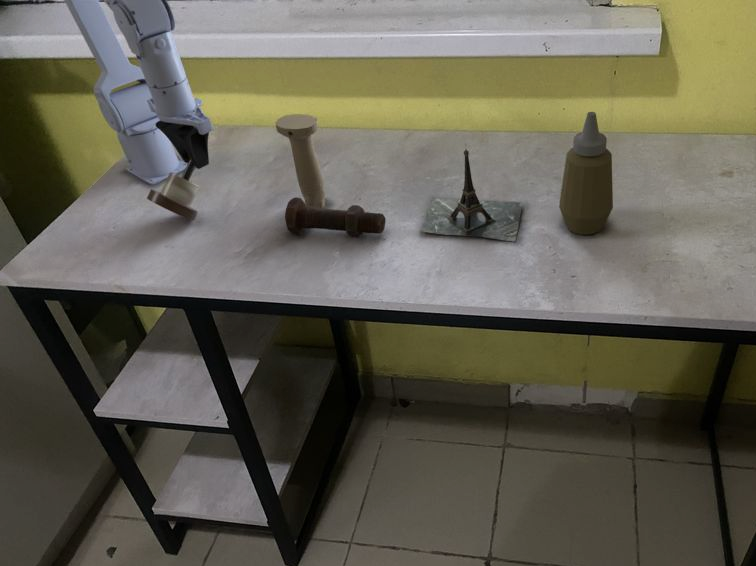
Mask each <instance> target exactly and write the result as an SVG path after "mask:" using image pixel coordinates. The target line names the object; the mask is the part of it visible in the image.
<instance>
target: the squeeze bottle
mask: <svg viewBox="0 0 756 566" xmlns="http://www.w3.org/2000/svg"><path fill="white" fill-rule="evenodd" d="M607 139H608V138H607V136H606V135H605V134H604V133H601V132H600V130H599V125H598V118H597V113H596V112H595V111H588V112H587V113H586V117H585V120H584V124H583V128H582V131H581V132H579V133H576V134H575V135H574V136H573V139H572V140H573V143H572V144H573V145H572V147H571V148H570V149H569V150H568V151H567V152H566V153H565V154H566V156H565V161H564V169H563V176H562V183H561V189H560V196H559V205H558V207H559V210H560V213H561V216H562V218H563V222H564V224H565V226H566V228H567V230H569V231H570V232H572V233H574V234H578V235H588V236H589V235H594V234H596V233H598V232H601V231H602V229H603V228H604V227H605V225H606V223H607V221H608V219H609V217H610V215H611V214H612V210H613V208H614V199H613V197H614V196H613V193H614V191H613V155H612V154H613V153H612V152H611V151H610V150H609V148H607V143H608V142H607Z"/></svg>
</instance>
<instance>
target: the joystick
mask: <svg viewBox="0 0 756 566" xmlns="http://www.w3.org/2000/svg"><path fill="white" fill-rule="evenodd" d="M188 156H189V155H188ZM189 158H190V157H189ZM195 169H196V167H195V166H194V164H193V163H192V161H191V159H190V160H189V162H188V163H187V166H186V169H185V170H183V173H182V175H181V176H180V175H177V174H174V173H172V172H170V173H169V175H168V177H167V178H166V179H165V182H164V184H163V185H162V188H161V190H160V191H158V190H155V189H152V188H151V189H150V190H149V192H148V195H147V197H146V199H147V200H148V201H150V202H151V203H153V204H155V205H158V206H159V207H161V208H163V209H165V210H168V211H169V212H171V213H174V214H176V215H177V216H180V217H183V218H185V219H187V220H190V221H194V220H195V219H196V217H197V214H198V213H199V212H198V210H196V209H194V208H193V207H191V206H192V203H193V201H194V199H195V197H196V195H197V192H198V191H199V189H200V186H199V185H198V184H195V183H194V182H192V181H190V179H191V177H192V175H193V173H194V171H195Z"/></svg>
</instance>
